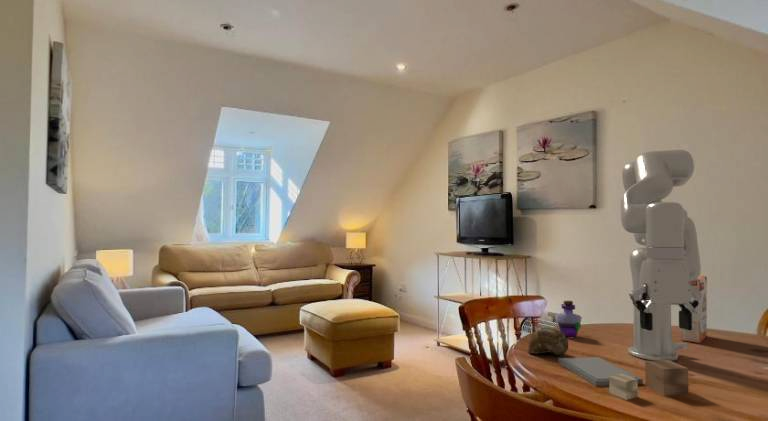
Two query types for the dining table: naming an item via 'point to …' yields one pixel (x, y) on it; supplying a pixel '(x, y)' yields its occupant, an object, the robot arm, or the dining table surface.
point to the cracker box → (698, 314)
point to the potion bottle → (568, 320)
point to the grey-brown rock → (548, 341)
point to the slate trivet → (595, 369)
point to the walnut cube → (666, 377)
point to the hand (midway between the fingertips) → (666, 329)
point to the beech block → (623, 386)
